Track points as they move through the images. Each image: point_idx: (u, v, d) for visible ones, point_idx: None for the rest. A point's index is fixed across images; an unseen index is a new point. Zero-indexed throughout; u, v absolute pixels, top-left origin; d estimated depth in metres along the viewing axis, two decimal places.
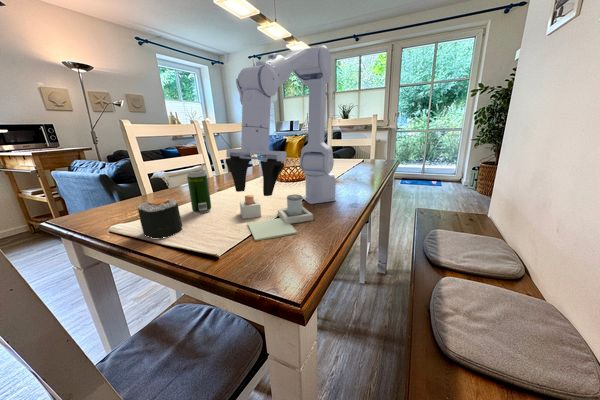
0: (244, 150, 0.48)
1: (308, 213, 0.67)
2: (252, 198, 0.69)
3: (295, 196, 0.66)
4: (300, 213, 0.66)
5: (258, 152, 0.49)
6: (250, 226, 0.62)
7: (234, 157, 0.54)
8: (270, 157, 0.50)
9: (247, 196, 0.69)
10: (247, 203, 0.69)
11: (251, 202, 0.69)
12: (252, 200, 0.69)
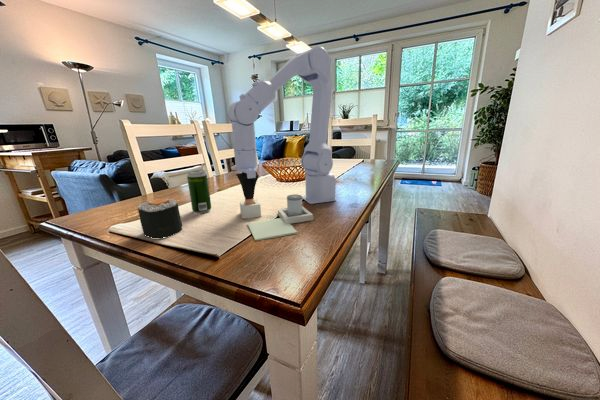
0: (231, 168, 0.65)
1: (308, 213, 0.67)
2: (252, 200, 0.69)
3: (295, 196, 0.66)
4: (300, 213, 0.66)
5: (239, 170, 0.64)
6: (250, 226, 0.62)
7: None
8: None
9: None
10: None
11: None
12: (252, 202, 0.69)
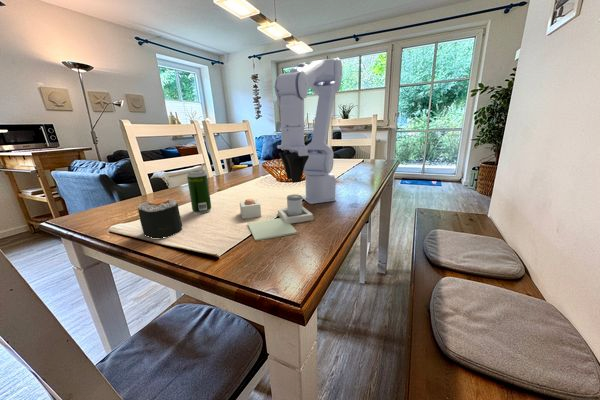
0: (278, 147, 0.60)
1: (308, 213, 0.67)
2: (252, 202, 0.69)
3: (295, 196, 0.66)
4: (300, 213, 0.66)
5: (287, 148, 0.59)
6: (250, 226, 0.62)
7: None
8: (297, 151, 0.59)
9: (247, 200, 0.69)
10: None
11: None
12: None
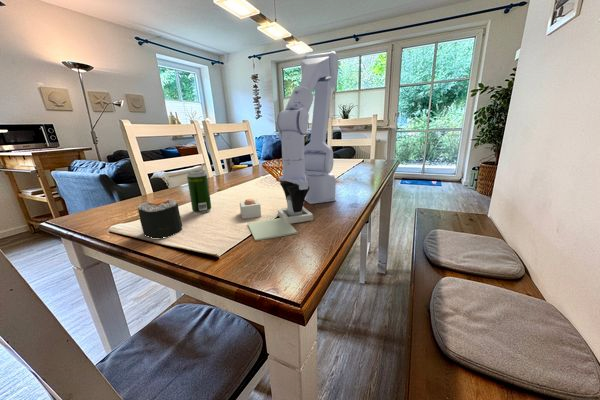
0: (280, 178, 0.63)
1: (308, 213, 0.67)
2: (252, 202, 0.69)
3: None
4: (300, 213, 0.66)
5: (289, 180, 0.62)
6: (250, 226, 0.62)
7: None
8: None
9: (247, 200, 0.69)
10: None
11: None
12: None
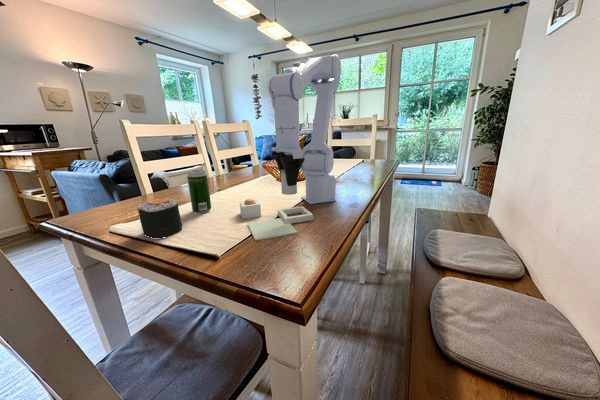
0: (273, 149, 0.59)
1: (308, 213, 0.67)
2: (252, 202, 0.69)
3: None
4: (294, 187, 0.62)
5: (282, 150, 0.58)
6: (250, 226, 0.62)
7: (279, 152, 0.65)
8: (292, 154, 0.57)
9: (247, 200, 0.69)
10: None
11: None
12: None
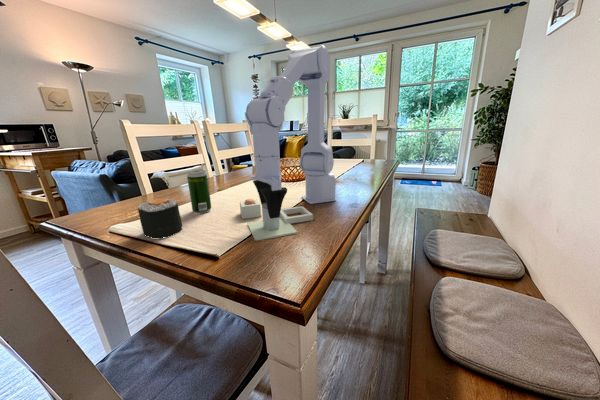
0: (251, 178, 0.55)
1: (308, 213, 0.67)
2: (252, 202, 0.69)
3: None
4: (276, 223, 0.59)
5: (261, 180, 0.54)
6: (250, 226, 0.62)
7: None
8: None
9: (247, 200, 0.69)
10: None
11: None
12: None
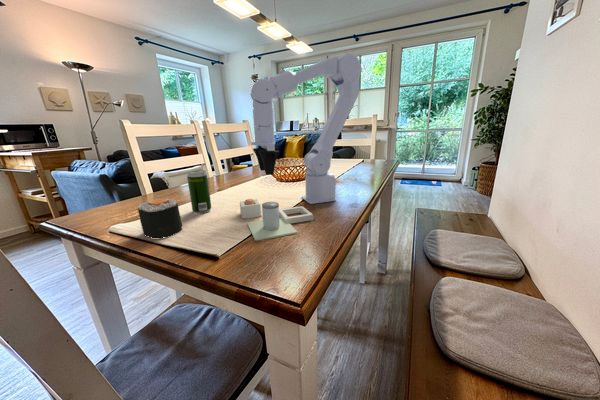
0: (252, 143, 0.72)
1: (308, 213, 0.67)
2: (252, 202, 0.69)
3: (271, 204, 0.59)
4: (276, 223, 0.59)
5: (259, 144, 0.70)
6: (250, 226, 0.62)
7: (259, 146, 0.78)
8: None
9: (247, 200, 0.69)
10: None
11: None
12: None
